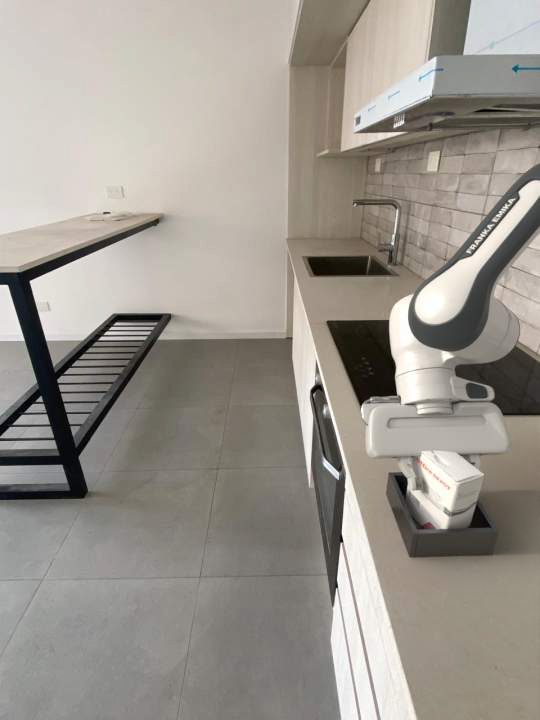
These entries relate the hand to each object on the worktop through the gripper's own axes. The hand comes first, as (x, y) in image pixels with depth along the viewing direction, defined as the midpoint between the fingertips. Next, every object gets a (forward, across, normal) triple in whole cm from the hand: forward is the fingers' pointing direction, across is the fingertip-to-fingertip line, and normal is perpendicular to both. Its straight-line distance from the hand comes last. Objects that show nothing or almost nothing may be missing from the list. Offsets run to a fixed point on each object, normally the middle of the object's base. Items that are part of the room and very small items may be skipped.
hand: (443, 489), depth 56 cm
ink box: (+5, 0, +5) cm, 7 cm away
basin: (+4, 0, +5) cm, 7 cm away
